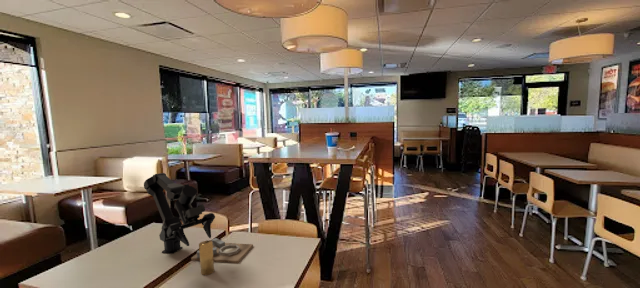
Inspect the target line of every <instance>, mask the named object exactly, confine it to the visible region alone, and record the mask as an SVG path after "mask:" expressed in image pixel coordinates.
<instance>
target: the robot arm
mask: <svg viewBox="0 0 640 288" xmlns="http://www.w3.org/2000/svg"><path fill="white" fill-rule="evenodd" d="M143 188H144V189H145V190H146V193H147V194H148V195H150V196H151V197H152V198H153V200H154V202H155V204H156V207H157V209H158V212H159V215H160V217H161V219H162V220H161V221H162V225H161V231H160V233H159V239H160V241H162V242H163V246H164V249H163V250H161V253H163V254H171V255H173V254H175V253H177V252H179V251H180V250H182V249H183V248H184V247H183V246H181V243H183V244H184V245H186V247H189V246H190V241H189V240H188V238H187V236H186V234H185V232H184V230H185V229H189V228H192V227H194V226H198V225H200V224H202V226H203V227H202V228H203V230H204V231H205V234H206V235H207V238H209V239H211V238H212V232H211V230H212V229H211V225H212V223H213V222H214V221H215V219H216V216H215V213H213V212H209V213H206V214H203V213H204V212H205V211H206V207H205V206H204V204H203V203H201V204H198V205H197V207H193V206H192V203H193V201H194V199H196V196H197V193H198V190H197V188H196V187H194V186H191V185H189V183H187V184H182V183H175V182H174V180H172V179H171V178H170V177H168V176H167V174H166V172H162V173H161V172H160V173H155V174H152V176H150V177H149V178H147V179H146V180H145V181H144V182H143ZM164 190H165V192H166V195H165V192H164ZM167 199H168V200H169V201H171V202H172V201H175V202H174V206H173V207H174V209H175V210H176V211H177V213H178V216H174V215H173V212H172V209H171V207H170V205H169V201H168V200H167ZM202 214H203V216H202V218H200V215H202ZM199 218H200V219H199Z"/></svg>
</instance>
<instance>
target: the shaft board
mask: <svg viewBox="0 0 640 288" xmlns="http://www.w3.org/2000/svg"><path fill="white" fill-rule="evenodd" d="M210 241H212V244H213V259H214V263H215V262H216V263H229V264H230V263H231V264H240V262H241V260H243V258H244V257H246V255H247V254H248V252H249V251H251V249H252V248H253V247H254V244H253V243H236V242H234V243H232V242H230V243H229V242H225V241H224V240H221V239H219V238H217V237H215V238H213V239H211V240H210ZM190 261H199V262H200V253H199V249H198V250H197V251H196V254H194V255H193V256H192V257H190Z"/></svg>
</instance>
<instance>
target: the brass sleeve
mask: <svg viewBox="0 0 640 288" xmlns="http://www.w3.org/2000/svg"><path fill="white" fill-rule="evenodd" d="M198 250H199V253H200V261H199V265H200V266H199V267H200V275H201V276H209V275H211V274H213V273H214V272H215V265H214V264H215V262H214V259H213V244H212V241H211V240H210V239H209V240H207V239H206V240H202V241H200V242H199V243H198Z"/></svg>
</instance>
